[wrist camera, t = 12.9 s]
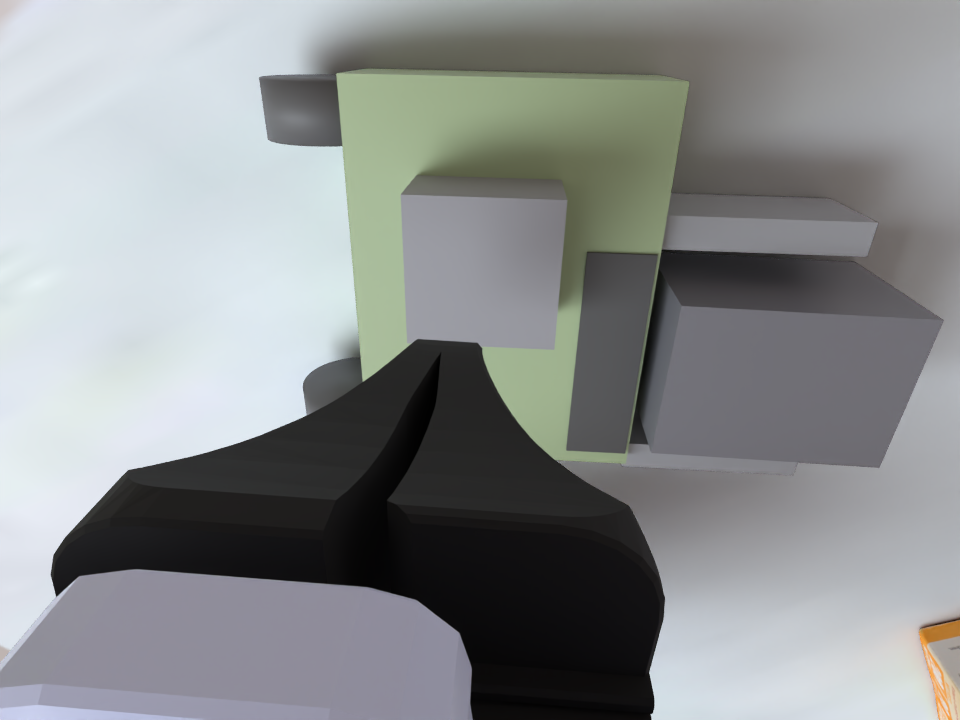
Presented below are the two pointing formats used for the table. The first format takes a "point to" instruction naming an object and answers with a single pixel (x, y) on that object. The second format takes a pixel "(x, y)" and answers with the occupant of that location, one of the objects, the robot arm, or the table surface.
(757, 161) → the table surface
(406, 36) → the table surface
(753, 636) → the table surface
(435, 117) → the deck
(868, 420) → the grey block
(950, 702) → the supplement box
